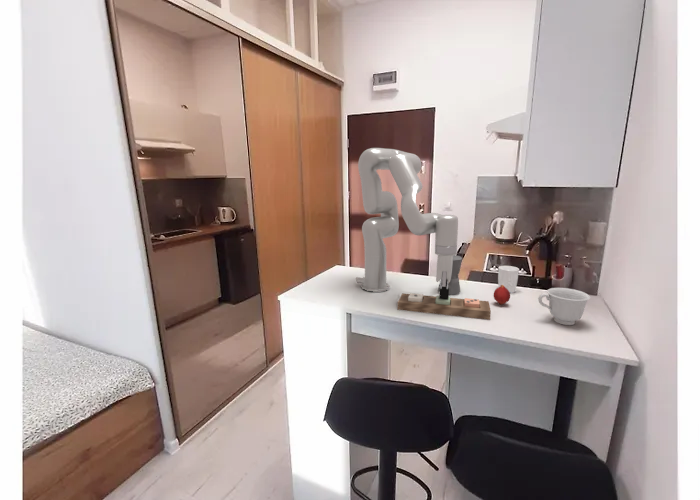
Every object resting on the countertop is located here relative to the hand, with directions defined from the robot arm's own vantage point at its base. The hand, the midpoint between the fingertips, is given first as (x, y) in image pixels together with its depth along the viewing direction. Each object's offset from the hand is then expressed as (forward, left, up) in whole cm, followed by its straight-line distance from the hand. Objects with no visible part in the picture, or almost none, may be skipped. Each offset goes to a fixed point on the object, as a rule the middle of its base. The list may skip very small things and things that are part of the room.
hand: (443, 298), depth 122 cm
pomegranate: (+21, +11, -5) cm, 24 cm away
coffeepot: (+1, +20, -5) cm, 21 cm away
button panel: (0, 0, -4) cm, 4 cm away
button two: (0, 0, -3) cm, 3 cm away
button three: (+10, 0, -3) cm, 10 cm away
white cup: (+25, +29, -5) cm, 39 cm away
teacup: (+38, 0, -5) cm, 38 cm away
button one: (-10, 0, -3) cm, 11 cm away
